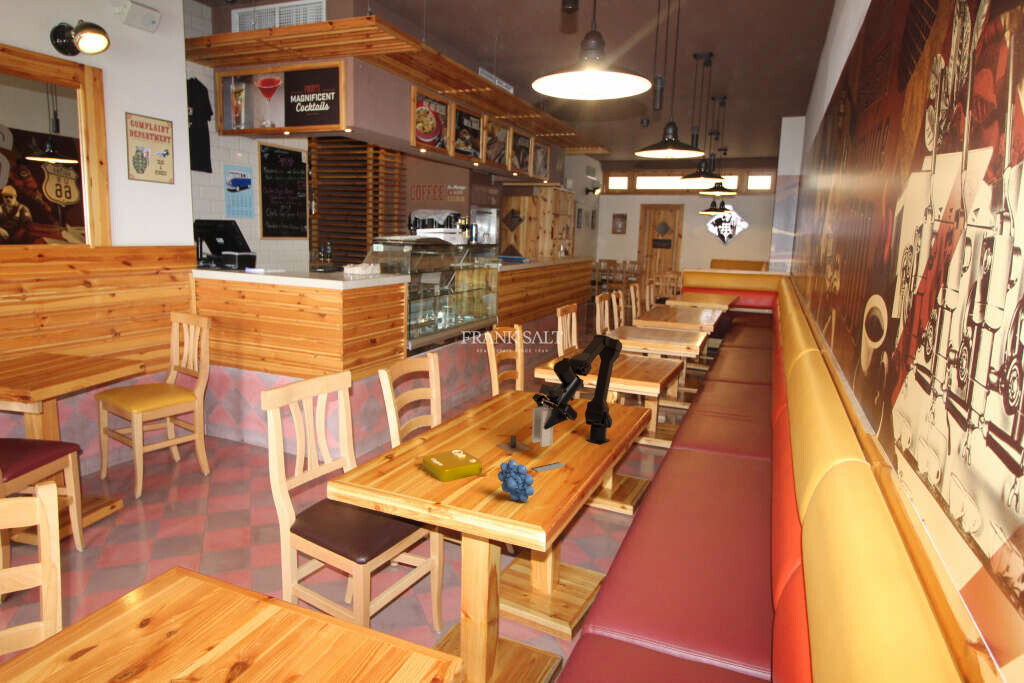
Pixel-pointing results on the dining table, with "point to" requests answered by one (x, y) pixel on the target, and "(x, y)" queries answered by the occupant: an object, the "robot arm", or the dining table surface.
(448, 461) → the element tile
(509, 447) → the walnut stand
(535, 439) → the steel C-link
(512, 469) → the blue ball cluster
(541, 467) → the slate mat
